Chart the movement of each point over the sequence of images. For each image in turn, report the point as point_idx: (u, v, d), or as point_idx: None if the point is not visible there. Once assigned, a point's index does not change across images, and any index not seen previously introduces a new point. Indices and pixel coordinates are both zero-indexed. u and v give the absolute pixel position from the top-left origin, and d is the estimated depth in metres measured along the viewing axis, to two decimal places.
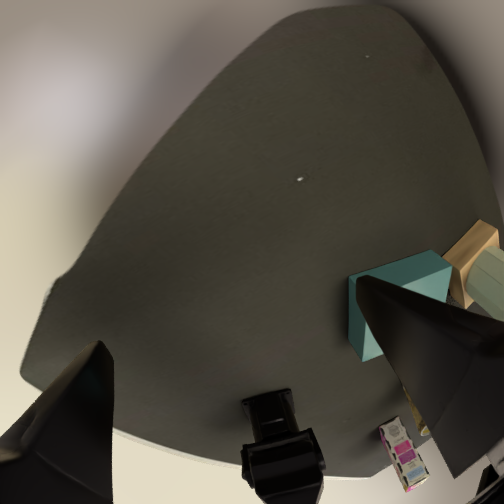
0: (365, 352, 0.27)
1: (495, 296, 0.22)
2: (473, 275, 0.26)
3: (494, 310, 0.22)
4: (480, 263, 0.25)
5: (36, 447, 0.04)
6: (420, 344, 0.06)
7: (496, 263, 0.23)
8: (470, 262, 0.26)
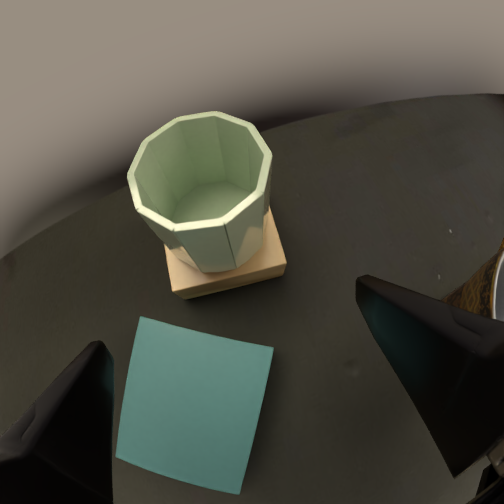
0: (217, 487, 0.14)
1: (173, 243, 0.15)
2: (187, 263, 0.19)
3: (202, 244, 0.14)
4: None
5: (36, 447, 0.04)
6: (420, 344, 0.06)
7: None
8: (173, 263, 0.20)
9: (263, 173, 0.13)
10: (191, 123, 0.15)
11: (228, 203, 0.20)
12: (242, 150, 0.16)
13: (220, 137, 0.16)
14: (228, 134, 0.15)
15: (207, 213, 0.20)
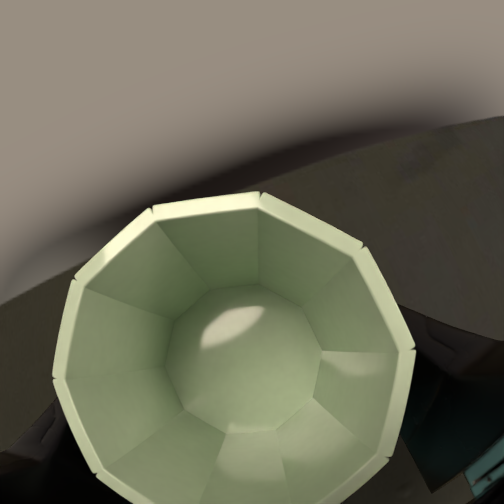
0: None
1: None
2: None
3: None
4: None
5: (58, 450, 0.04)
6: None
7: None
8: None
9: (396, 409, 0.04)
10: (192, 223, 0.06)
11: (263, 329, 0.11)
12: (313, 276, 0.07)
13: (265, 244, 0.07)
14: (287, 248, 0.07)
15: (228, 347, 0.11)
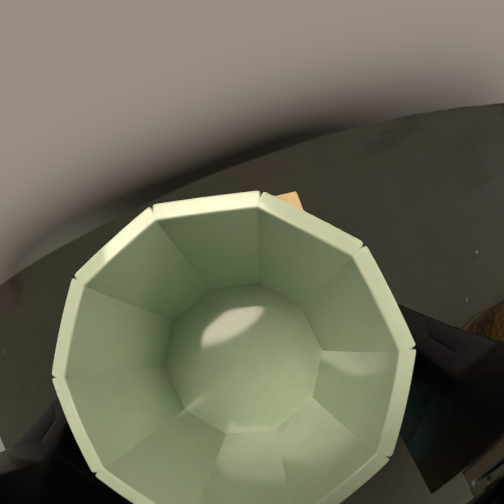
0: None
1: None
2: None
3: None
4: None
5: (58, 451, 0.04)
6: None
7: None
8: None
9: (396, 409, 0.04)
10: (192, 222, 0.06)
11: (264, 329, 0.11)
12: (313, 276, 0.07)
13: (265, 243, 0.07)
14: (287, 247, 0.07)
15: (228, 346, 0.11)
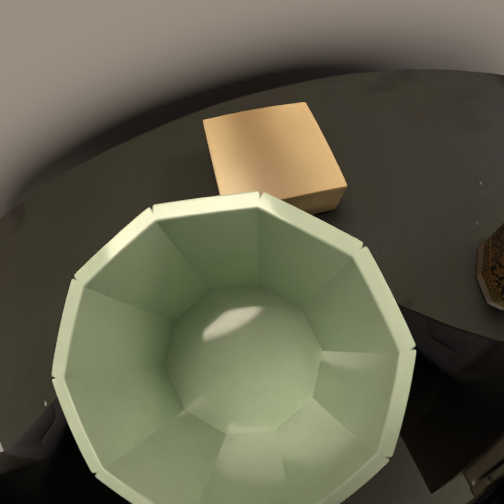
0: None
1: None
2: None
3: None
4: None
5: (58, 450, 0.04)
6: None
7: None
8: (224, 184, 0.18)
9: (396, 409, 0.04)
10: (192, 223, 0.06)
11: (263, 329, 0.11)
12: (313, 276, 0.07)
13: (265, 244, 0.07)
14: (287, 248, 0.07)
15: (228, 346, 0.11)
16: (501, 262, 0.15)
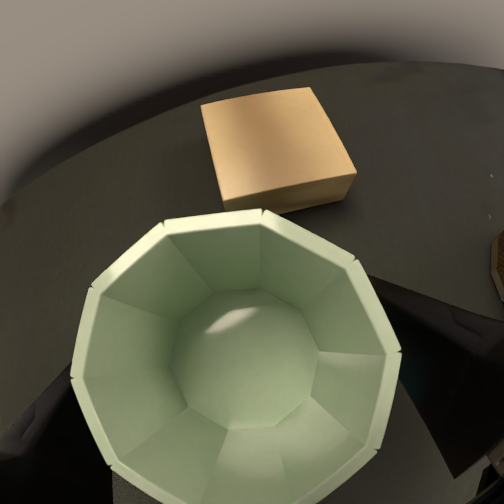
0: None
1: None
2: None
3: None
4: None
5: (36, 447, 0.04)
6: (420, 344, 0.06)
7: None
8: (223, 170, 0.16)
9: (383, 406, 0.05)
10: (200, 236, 0.06)
11: (264, 330, 0.12)
12: (310, 283, 0.08)
13: (265, 254, 0.08)
14: (287, 258, 0.07)
15: (230, 347, 0.12)
16: None
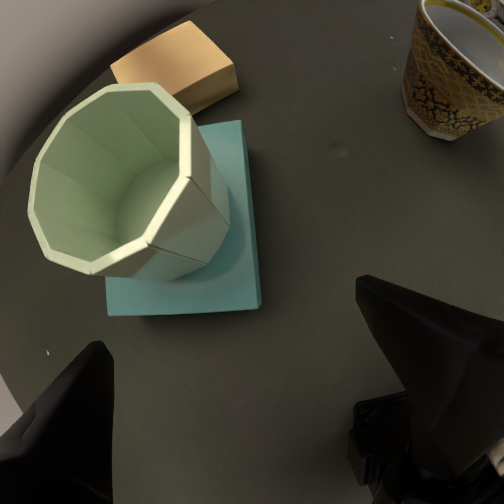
0: (228, 305, 0.15)
1: None
2: None
3: (141, 268, 0.10)
4: None
5: (36, 447, 0.04)
6: (420, 344, 0.06)
7: None
8: None
9: (184, 147, 0.08)
10: (83, 113, 0.09)
11: None
12: (161, 119, 0.11)
13: (128, 113, 0.10)
14: (134, 107, 0.10)
15: (154, 206, 0.15)
16: (416, 84, 0.15)
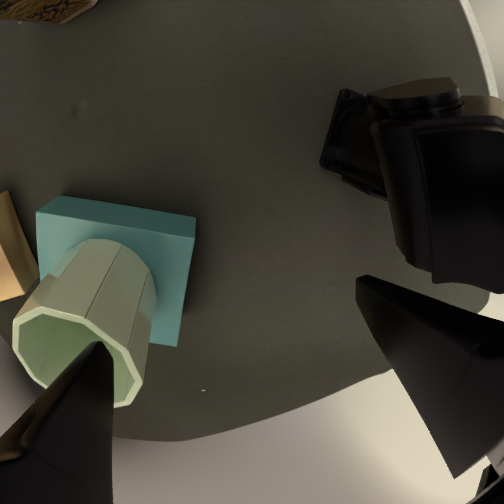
0: (186, 260, 0.18)
1: None
2: None
3: (142, 341, 0.13)
4: None
5: (35, 447, 0.04)
6: (420, 344, 0.06)
7: None
8: (8, 294, 0.17)
9: (63, 316, 0.10)
10: (31, 365, 0.11)
11: None
12: None
13: (30, 327, 0.12)
14: (27, 326, 0.11)
15: None
16: (36, 19, 0.09)
